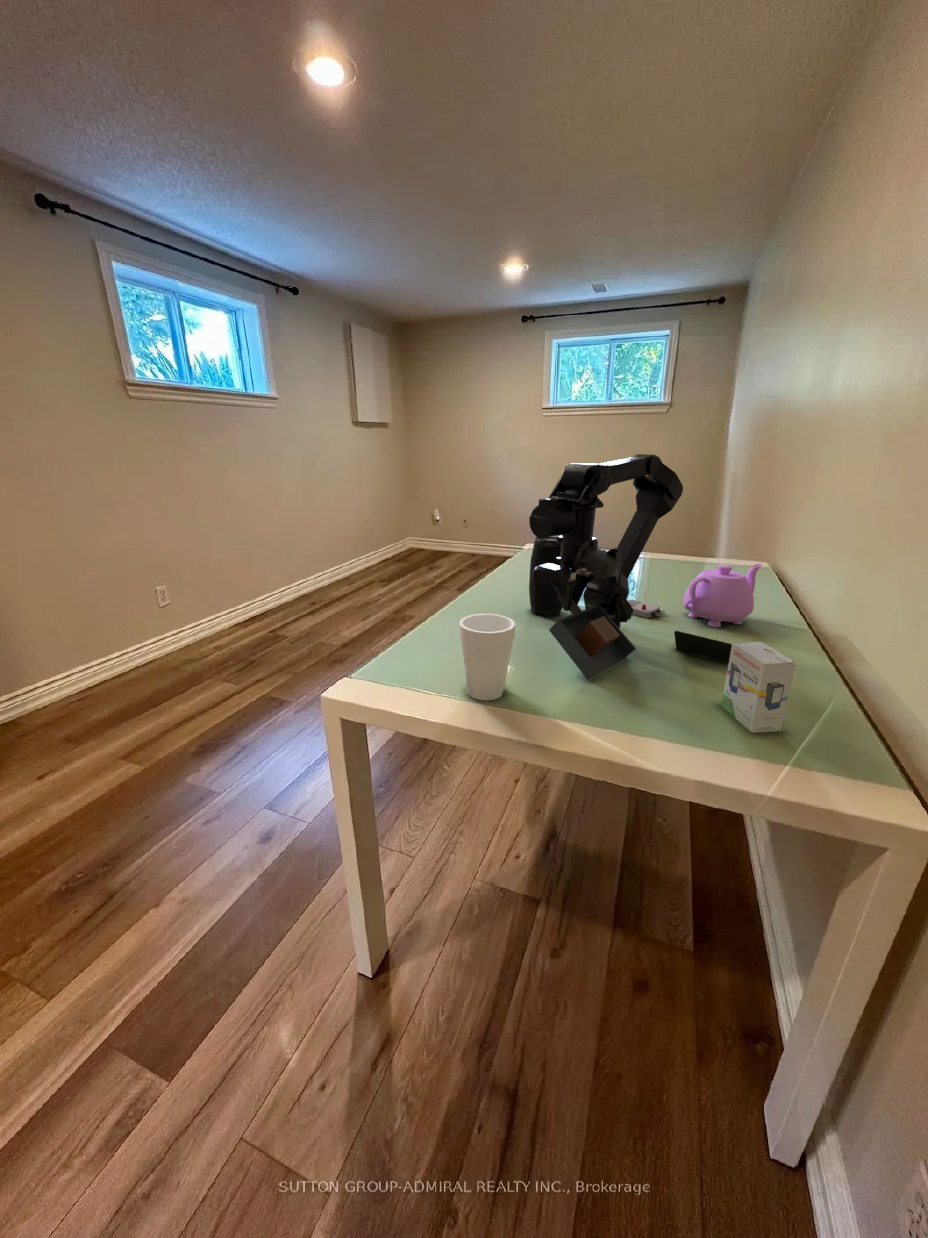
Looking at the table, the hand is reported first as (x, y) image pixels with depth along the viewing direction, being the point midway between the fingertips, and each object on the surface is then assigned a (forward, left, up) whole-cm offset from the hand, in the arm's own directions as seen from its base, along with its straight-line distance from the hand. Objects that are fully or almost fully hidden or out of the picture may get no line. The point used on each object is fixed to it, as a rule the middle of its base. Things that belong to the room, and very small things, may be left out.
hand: (569, 609), depth 99 cm
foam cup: (+24, 0, -10) cm, 26 cm away
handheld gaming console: (-21, +20, -10) cm, 31 cm away
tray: (0, +3, -5) cm, 6 cm away
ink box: (-1, +35, -10) cm, 36 cm away
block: (0, +5, -6) cm, 8 cm away
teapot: (-47, +13, -10) cm, 50 cm away
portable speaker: (-18, -19, -10) cm, 28 cm away
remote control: (-37, -3, -10) cm, 39 cm away
